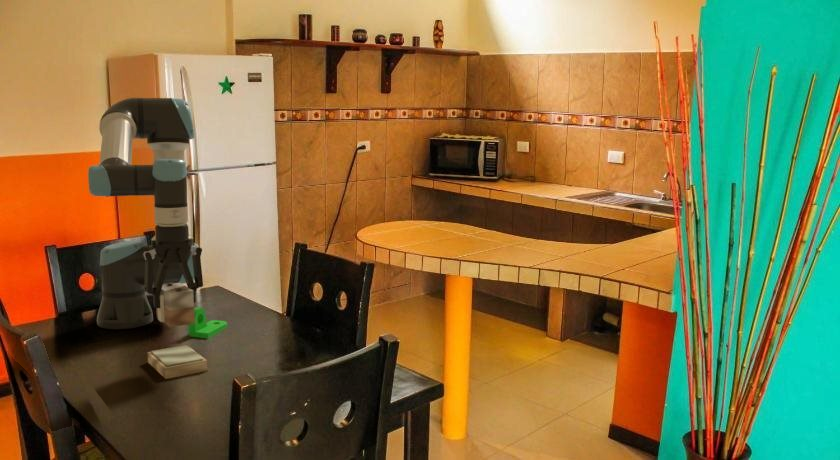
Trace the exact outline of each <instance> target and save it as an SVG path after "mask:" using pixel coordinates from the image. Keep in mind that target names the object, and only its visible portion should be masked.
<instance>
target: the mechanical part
mask: <svg viewBox="0 0 840 460" xmlns="http://www.w3.org/2000/svg"><path fill="white" fill-rule="evenodd" d="M194 309H195V323H193V324H188V335H189V336H188V337H192V338H200V339H201V338H202V339H207V340H208V339H210V338H213V336H216V335H217V334H218V333H220V332H222V331H223V330H225V329H227V327H228V322H227V321H225V320H216V319H212V320H209V321H207V314H206V311H205V309H204V308H203V307H194Z"/></svg>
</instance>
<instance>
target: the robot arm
mask: <svg viewBox="0 0 840 460" xmlns="http://www.w3.org/2000/svg"><path fill="white" fill-rule="evenodd" d="M98 129H99V130H98V131H99V133H100V136H102V137H101V144H100V145H101V146H100V155H99V156H100V157H99V163H98V164H95V165H90V166H89V168H88V170H87V171H88V172H87V174H88V175H87V176H88V177H87V179H88V183H87V184H88V190H89V193H90V195H92V196H94V197H105V198H109V197H128V196H130V197H131V196H133V197H134V196H135V197H138V196H153V201H154V205H153V206H154V223H155V224H156V225H155V227H154V230H155V231H154V233H155V234H154V236H153V237H152V238H151V240H150V241H151V245H145V243H144V242H143V241H142V240H138V239H137V240H126V241H125V240H124V241H120V242H116V243H112V244H109V245H106V246H104V247H103V248H102V249H101V251H100V254H99V255H100V256H99V257H100V259H99V260H100V262H99V266H100V276H101V295H102V296H101V302H100V305H99V309H98V312H97V316H96V325H97V326H98V327H99V328H101V329H106V330H128V329H134V328H139V327H143V326H146V325H149V324H151V323H152V322H153V321H154V315H153V310H152V307H151V305H150V303H149V300H148V297H147V294H149V295H152V301H153V302H152V303H153V307H154V308H155V309H156V308H158V318H157V320H158V321H159V322H160V323H164V322H165V316H164V295H163V294H161V289H162V285H164V284H167V283H181V284H183V285H184V284H186V287H188V288H190V289H191V290H193V295H194V304H195V303H196V301H197V300H196V299H197V296H196V295H197V294H196V291H197V290H198V289H199V288H202V287H204V280H203V271H202V260H201V257H202V252H203V248H202V247H200V246H199V244H198V243H196V242H194V237H193V236H192V235H191V234H190V232H189V225H188V222H189V211H188V209H189V208H188V178H187V176H188V170H187V165H186V164H187V163H186V161H185V151H186V149H188V147H189V146H190V140H194V139H195V132H194V131H195V130H194V124H193V118H192V113H191V108H190V105H189V102H188V101H187V100H186V99H184V98H182V99H181V98H174V97H153V98H152V97H128V98H126V99H122V100H120V101H118V102H116V103H114V104H112V105H111V106H109V107H108V109H106V110H105V112H104V113H103V114H102V116H101V118H100V120H99V127H98ZM134 139H140V140H141V139H142V140H143V139H144V140H145V139H146V144H147V146H148V148H150V149H151V150H152V153H153V157H152V158H153V162H152V164H133V163H132V162H133V140H134ZM146 293H147V294H146Z"/></svg>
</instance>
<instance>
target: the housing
mask: <svg viewBox="0 0 840 460" xmlns="http://www.w3.org/2000/svg"><path fill="white" fill-rule="evenodd" d="M161 294H163V295H164V316H165V322H163V323H164V324H165V325H167V326H168V327H169V328H174V327H178V326H179V327H180V326H186V325H189V324H193V323H195V309H194V308H195V303H194V295H193V290H191V289H190V288H188V287H187V285H184V283H183V284H181V283H167V284H164V285H162V289H161ZM155 311H156V313H155V314H156V318H157V319H158V308H155Z"/></svg>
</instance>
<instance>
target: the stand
mask: <svg viewBox="0 0 840 460" xmlns="http://www.w3.org/2000/svg"><path fill="white" fill-rule="evenodd" d="M147 363H148V364H149V366H151V367H152V368H154V370H155V371H156V372H158V373H159V374H160V376H162V377H163V378H164V379H165V380H167V379H173V378H177V377H183V376H189V375H194V374H198V373H199V374H200V373H203V372H208V360H207V359H206V358H205V357H203V356H202V355H201V354H200V353H198V352H196V351H195V350H194V349H193V348H191V347H190V346H189V345H187V344H184V345H179V346H178V345H177V346H173V347H167V348H161V349H155V350H150V351H147Z"/></svg>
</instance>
